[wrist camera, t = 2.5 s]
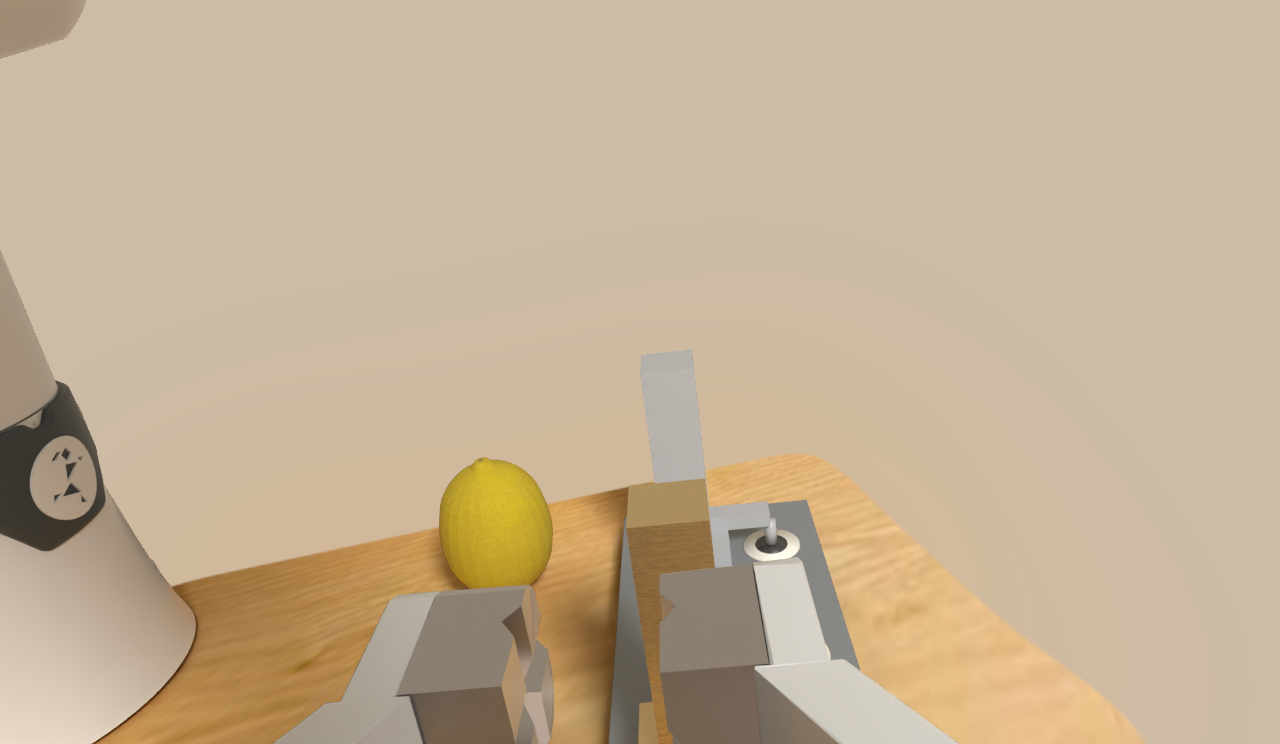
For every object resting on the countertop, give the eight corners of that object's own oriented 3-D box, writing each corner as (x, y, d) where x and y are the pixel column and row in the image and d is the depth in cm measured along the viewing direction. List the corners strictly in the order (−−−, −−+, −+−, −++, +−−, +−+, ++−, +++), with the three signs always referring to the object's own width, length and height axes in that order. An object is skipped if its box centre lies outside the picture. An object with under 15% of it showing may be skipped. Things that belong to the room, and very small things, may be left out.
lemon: (468, 569, 46) (437, 440, 43) (567, 558, 46) (543, 428, 43) (447, 636, 41) (410, 495, 38) (559, 624, 41) (530, 481, 38)
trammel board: (607, 876, 28) (548, 581, 24) (628, 540, 47) (597, 340, 42) (908, 855, 27) (906, 548, 23) (807, 523, 46) (795, 318, 41)
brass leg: (645, 816, 28) (597, 537, 24) (646, 745, 30) (603, 483, 26) (839, 803, 27) (824, 515, 23) (822, 731, 30) (807, 463, 26)
